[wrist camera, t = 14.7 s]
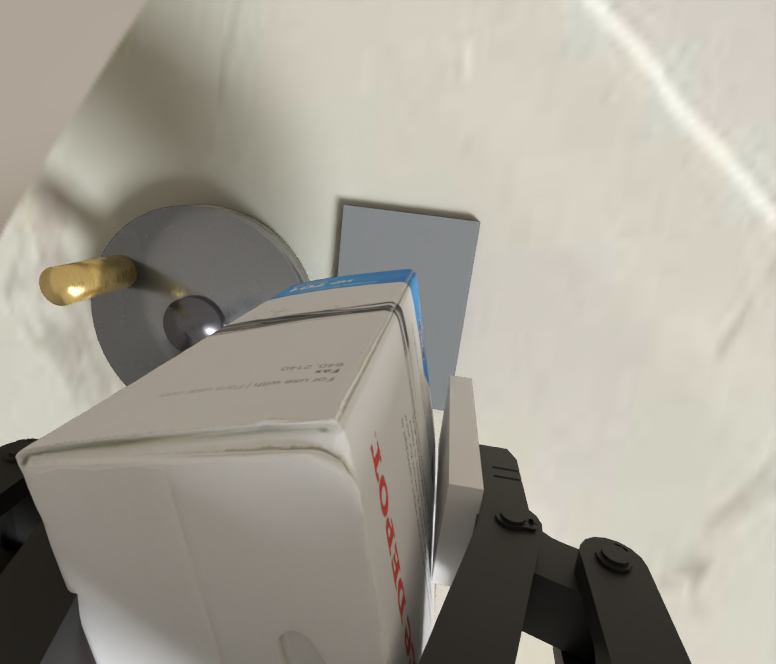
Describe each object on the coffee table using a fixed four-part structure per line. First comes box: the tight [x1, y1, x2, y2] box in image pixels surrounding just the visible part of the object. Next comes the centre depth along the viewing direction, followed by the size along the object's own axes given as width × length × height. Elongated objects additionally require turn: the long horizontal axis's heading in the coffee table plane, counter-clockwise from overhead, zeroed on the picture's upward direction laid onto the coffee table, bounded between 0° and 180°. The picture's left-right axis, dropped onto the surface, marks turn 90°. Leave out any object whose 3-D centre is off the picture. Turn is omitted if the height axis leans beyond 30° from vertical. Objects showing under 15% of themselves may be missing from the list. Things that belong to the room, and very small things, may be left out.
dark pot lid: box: [39, 205, 309, 386], centre depth 28 cm, size 14×14×7 cm
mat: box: [337, 205, 480, 411], centre depth 30 cm, size 8×12×1 cm, turn 174°
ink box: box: [15, 269, 438, 664], centre depth 13 cm, size 9×5×12 cm, turn 8°
